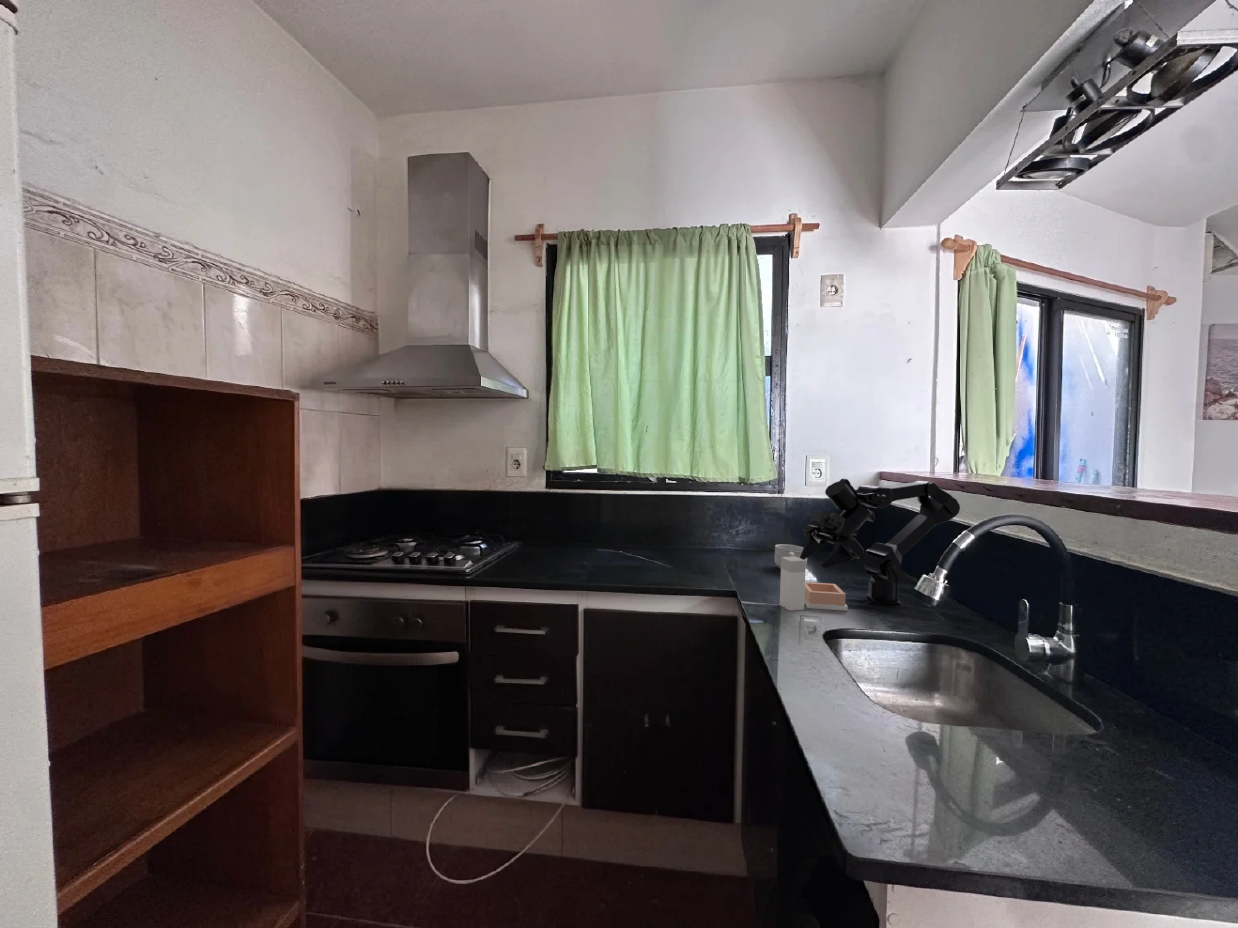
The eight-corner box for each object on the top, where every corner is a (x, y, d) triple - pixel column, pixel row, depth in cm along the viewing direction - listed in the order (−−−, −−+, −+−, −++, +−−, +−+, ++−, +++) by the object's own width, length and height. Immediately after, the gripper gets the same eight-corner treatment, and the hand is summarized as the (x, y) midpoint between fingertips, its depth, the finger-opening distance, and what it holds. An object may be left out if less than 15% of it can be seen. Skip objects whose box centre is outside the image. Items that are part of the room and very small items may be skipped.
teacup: (777, 564, 168) (778, 542, 168) (809, 568, 162) (810, 546, 162) (768, 573, 156) (769, 549, 156) (803, 578, 151) (803, 554, 150)
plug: (794, 603, 126) (795, 556, 126) (804, 609, 122) (805, 560, 122) (779, 604, 126) (781, 557, 125) (789, 610, 121) (790, 561, 121)
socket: (835, 598, 132) (836, 583, 131) (847, 610, 122) (848, 594, 122) (798, 595, 133) (799, 581, 133) (807, 607, 123) (808, 592, 123)
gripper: (810, 496, 134) (774, 535, 132) (856, 505, 116) (815, 550, 114) (833, 523, 136) (797, 561, 134) (881, 536, 118) (841, 581, 116)
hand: (811, 563), depth 124 cm, fingers open, 9 cm apart
